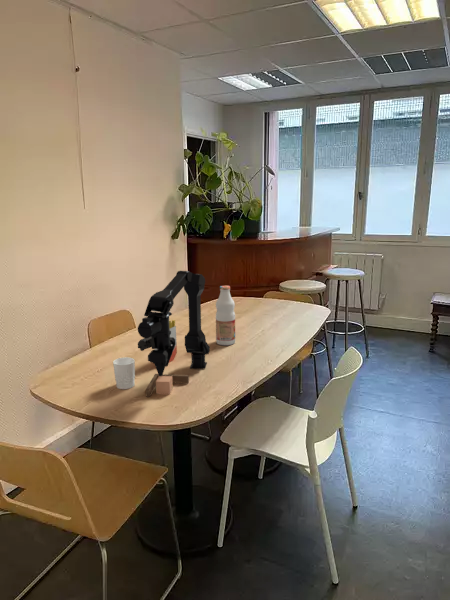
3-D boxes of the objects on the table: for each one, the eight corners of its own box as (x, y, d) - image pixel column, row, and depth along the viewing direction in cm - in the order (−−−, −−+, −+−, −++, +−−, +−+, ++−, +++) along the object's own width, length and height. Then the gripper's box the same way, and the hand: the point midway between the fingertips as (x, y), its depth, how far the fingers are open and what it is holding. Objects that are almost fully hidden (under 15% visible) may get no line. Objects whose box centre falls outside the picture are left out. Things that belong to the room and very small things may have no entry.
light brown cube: (159, 388, 166) (159, 375, 165) (172, 388, 165) (172, 376, 164) (156, 394, 161) (155, 381, 160) (170, 394, 161) (169, 381, 159)
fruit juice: (212, 341, 217) (211, 286, 211) (228, 338, 222) (227, 283, 216) (222, 347, 209) (222, 289, 203) (239, 343, 215) (238, 286, 208)
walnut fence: (155, 380, 172) (155, 373, 172) (189, 381, 171) (188, 374, 170) (146, 396, 159) (145, 389, 158) (182, 397, 158) (182, 390, 157)
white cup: (137, 381, 172) (136, 357, 170) (134, 389, 165) (132, 364, 162) (117, 381, 172) (115, 357, 170) (112, 390, 164) (111, 365, 162)
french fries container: (154, 364, 189) (152, 324, 185) (168, 356, 198) (166, 317, 194) (163, 366, 187) (161, 325, 183) (177, 357, 196) (175, 318, 192)
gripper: (146, 322, 167) (148, 361, 171) (131, 338, 149) (134, 381, 153) (175, 322, 166) (176, 361, 170) (164, 338, 148) (166, 381, 152)
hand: (163, 371), depth 161 cm, fingers open, 9 cm apart
